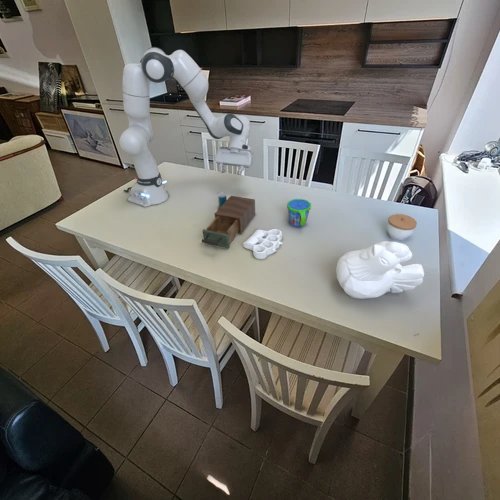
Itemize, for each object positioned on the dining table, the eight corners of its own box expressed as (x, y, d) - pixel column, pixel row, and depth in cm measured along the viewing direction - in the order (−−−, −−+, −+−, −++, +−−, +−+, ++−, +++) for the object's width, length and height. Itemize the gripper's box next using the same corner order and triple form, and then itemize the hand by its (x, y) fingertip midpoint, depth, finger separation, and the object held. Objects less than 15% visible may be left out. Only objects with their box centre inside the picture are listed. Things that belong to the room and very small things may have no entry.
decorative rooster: (322, 282, 92) (386, 255, 72) (334, 248, 101) (394, 216, 80) (376, 323, 96) (450, 309, 76) (382, 287, 105) (451, 265, 85)
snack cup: (284, 214, 137) (285, 196, 131) (305, 213, 137) (307, 195, 131) (288, 233, 125) (289, 214, 119) (312, 232, 125) (314, 212, 119)
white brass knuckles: (260, 230, 128) (289, 239, 122) (238, 251, 116) (269, 263, 110) (260, 223, 126) (289, 233, 120) (238, 245, 114) (269, 256, 108)
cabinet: (241, 234, 126) (240, 218, 121) (216, 229, 130) (214, 213, 125) (255, 214, 138) (254, 199, 133) (232, 210, 142) (231, 195, 137)
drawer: (223, 256, 113) (221, 242, 109) (198, 250, 117) (196, 237, 113) (243, 227, 129) (242, 215, 124) (221, 223, 132) (219, 211, 128)
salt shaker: (218, 209, 144) (216, 195, 139) (221, 205, 147) (220, 191, 142) (225, 210, 143) (223, 196, 138) (228, 206, 146) (227, 192, 141)
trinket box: (409, 230, 123) (417, 212, 117) (412, 245, 115) (419, 226, 109) (383, 227, 126) (389, 209, 120) (384, 240, 118) (390, 222, 112)
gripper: (216, 143, 146) (210, 168, 145) (252, 147, 139) (246, 173, 138) (221, 149, 152) (215, 173, 151) (256, 152, 145) (250, 178, 144)
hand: (230, 173), depth 144 cm, fingers open, 8 cm apart
